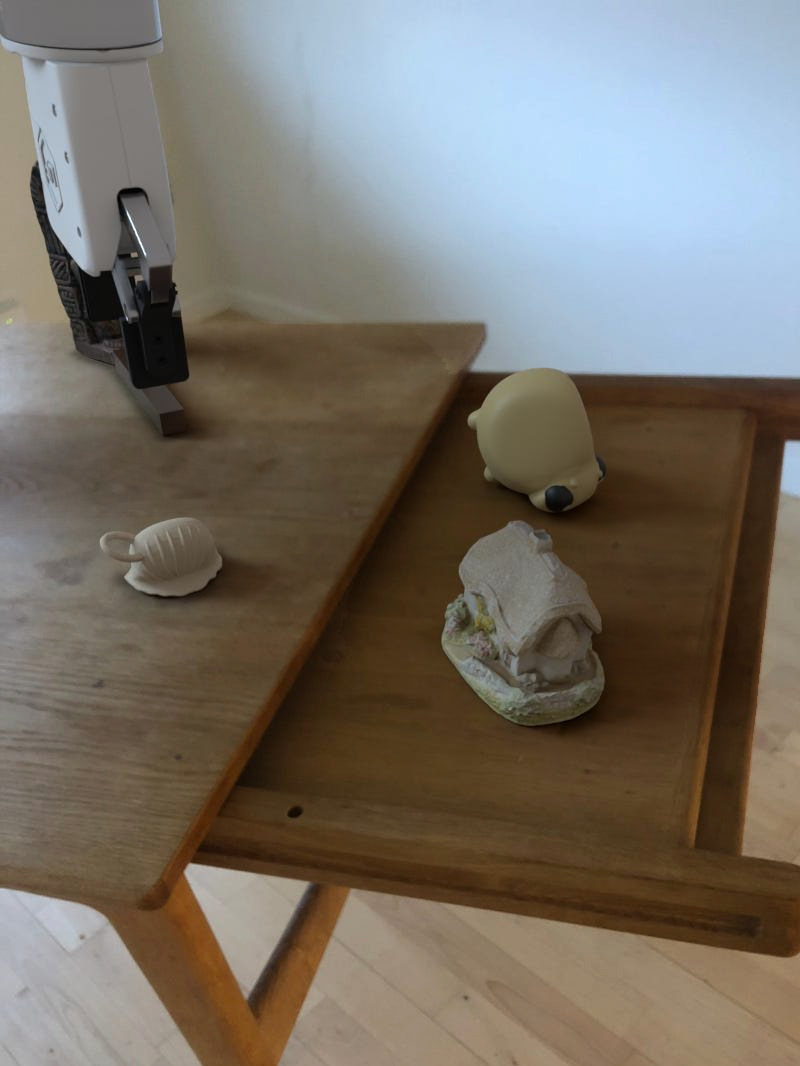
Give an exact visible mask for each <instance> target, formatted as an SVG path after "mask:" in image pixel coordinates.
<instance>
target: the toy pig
mask: <svg viewBox="0 0 800 1066" xmlns="http://www.w3.org/2000/svg"><path fill="white" fill-rule="evenodd" d="M467 425H468V427H469V428H470V429H471V430H474V431H476V438H477V445H478V448H479V452H480V454H481V457H482V460H483V461H484V463H485V465H486V467H485V469H484V471H483V476H484V478H485V480H486V481H487V482H489V483H496V482H499V483H500V484H501V485H503V486H505V487H506V488H507V489H510V490H512V491H514V492H517V493H521V494H524V495H527V496H528V498H529V500H530V502H531V503H532V505H533V506H534V507H535V508H537V509H539V510H540V511H544V512H547V513H562V512H566V511H569V510H572V509H573V508H575V507H577V506H579V505H581V504H583V503H585V502H586V501H587V500H589V499H590V498H591V497H592V496H594V494H595V492H596V490H597V487H598V485H599V484H600V483H601V482H602V481H603V480H604V478H605V477H606V474H607V465H606V463H605V461H604V460H603V458H602V457H600V456H599V455H597V454H595V446H594V440H593V434H592V428H591V424H590V421H589V418H588V415H587V411H586V409H585V406H584V402H583V400H582V397H581V394H580V392H579V390H578V387H577V386H576V384H575V383H574V381H573V380H572V379H571V377H570V376H569V375H568V374H567V373H565V372H564V371H562V370H559V369H556V368H551V367H534V368H533V367H532V368H528V369H524V370H520V371H518V372H515V373H513V374H510V375H509V376H507V377H505V378H504V379H502V380H501V381H500V382H498V383H497V384H496V385H495V386H493V388H492V389H491V390H490V392H489V393H487V396H486V397H485V399H484V401H482V404H481V407H480V408H478V409H477V410H475V411H473V412H471V413H470V414H469V415H468V418H467Z"/></svg>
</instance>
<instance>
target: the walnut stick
mask: <svg viewBox="0 0 800 1066" xmlns="http://www.w3.org/2000/svg"><path fill="white" fill-rule="evenodd" d="M112 352H113V357H114V362H115V364H114V367H115V372H116V374H117V375H118V376H119V377H120V379H121V380H122V381H123V383H124V384H125V386H126V388H128V390H129V392H130V393H131V394H132V396H133V397H134V398H135V399H136V401H137V402H138V404H139V405H140V406H141V408H142V409H143V410H144V412H145V414H146V415H147V416H148V418H149V419H150V420H151V421H152V423H153V424H154V426H155V428H156V429H157V430H158V431H159V433H160V434H161V435H162V437H165V436H170V435H176V434H179V433H185V432H187V431H188V428H187V422H186V414H185V409H184V407H183V406H182V405H181V404H180V402H179V401H178V399H176V397H175V395H174V394H173V393H172V392H171V391H170V390H169V388H168V387H167V385H162V386H156V387H151V388H145V389H136V388H135V387H134V386H133V384H132V383H131V381H130V376H129V370H128V365H127V359H126V354H125V348H124V349H118V350H113V351H112Z"/></svg>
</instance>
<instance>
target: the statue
mask: <svg viewBox="0 0 800 1066" xmlns="http://www.w3.org/2000/svg"><path fill="white" fill-rule="evenodd" d="M29 180H30V181H29V191H30V197H31V199H32V204H33V210H34V211H35V215H36V219H37V222H38V225H39V227H40V231H41V234H42V235H43V239H44V244H45V249H46V253H47V254H48V258H49V267H50V270H51V273H52V276H53V279H54V282H55V284H56V288H57V293H58V296H59V300H60V302H61V304H62V306H63V308H64V311H65V313H66V316H67V317H68V318H69V327H70V329H71V333H72V335H71V336H72V340H73V342H74V347H75V350H76V351H77V352H79V353H80V354H82V355H84V356H86V357H88V358H90V359H94V360H98V361H102V362H105V363H108V364H111V365H115V362H114V357H113V352H112V351H113V350H118V349H124V342H123V337H122V331H121V326H120V320H119V319H116V320H109V321H102V322H92V321H90V320H89V318H88V317H87V315H86V311H85V306H84V301H83V296H82V291H81V286H80V281H79V276H78V271H77V266H76V261H75V260H74V259H73V257H72V256H71V255H70V253H69V252H68V251H67V249H66V248H65V246H64V245H63V244H62V242H61V241H60V239H59V238H58V236H57V235H56V233H55V232H54V230H53V228H52V226H51V224H50V221H49V218H48V214H47V209H46V203H45V197H44V192H43V186H42V180H41V174H40V168H39V163H38V158H37V160H35V161H34V163H33V165H32V167H31V169H30V179H29Z"/></svg>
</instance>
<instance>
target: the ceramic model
mask: <svg viewBox="0 0 800 1066" xmlns="http://www.w3.org/2000/svg"><path fill="white" fill-rule="evenodd" d="M458 575H459V578H460V580H461V582H462V585H463V586H464V593H460V594H458V596H457V598H455V599H454V601H453V602H451V603H448V605H447V606H446V611H445V613H444V619H445V624H444V628H443V631H442V634H441V646H442V650H443V651H444V653H445V655H446V656H447V657H448V659H449V660H450V661H451V663H452V664H453V666H454V667H455V668H456V670H457V671H458V673H459V674H460V675H461V677H462V678H463V679H464V681H465V682H466V683H467V685H469V686H470V688H471V689H472V690H473V691H474V692H475V693H476V694H477V696H478V697H479V698H480V699H481V700H482V701H483V702H485V703H486V704H487V705H488V706H489V708H491V709H492V710H493V711H494V712H495V713H496V714H498V715H499V716H502V717H503V718H504V719H506V720H509V721H510V722H512V723H515V724H518V725H523V726H529V727H534V726H544V725H549V724H555V723H561V722H564V721H569V720H572V719H575V718H577V717H579V716H581V714H584V713H586V712H588V711H589V710H590V709H592V708H594V706H595V705H596V704H597V703H598V701H599V700H600V698H601V696H602V693H603V691H604V687H605V682H606V679H605V674H604V673H605V671H604V667H603V665H602V662H601V660H600V658H599V655H598V653H597V652H596V651H595V650H593V640H592V636H593V634H594V633H596V634H600V633H602V630H603V627H602V617H601V615H600V612H599V611H598V609H597V607H596V606H595V604H594V601H592V598H591V596H590V595H589V592H588V586H587V582H586V581H585V580H584V579H582V577H581V576H580V575H579V574H578V573H577V572H576V571H575V570H573V569H572V568H570V567H569V566H567V565H565V564H564V563H563V562H562V561H561V558H559V557H558V555H557V554H556V553H555V552H554V551H553V540H552V538H551V535H550V534H548V533H547V532H546V530H545V528H542V529H535V530H534V528H533V527H532V526H531V525H530V524H529V523H527V522H525V521H523V520H521V519H519V520H510V521H509V522H508V523H507V524H506V526H504V527H502V528H501V529H499V530H497V531H495V532H493V533H491V534H488V535H485V536H483V537H480V538H479V539H478V540H477V541H476V542H475V543H474V544H473V545H472V546H471V547H470V548H468V550H467V553H466V554H465V556H464V557H463V558H462V561H461V562H460V563H459V567H458Z"/></svg>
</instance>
